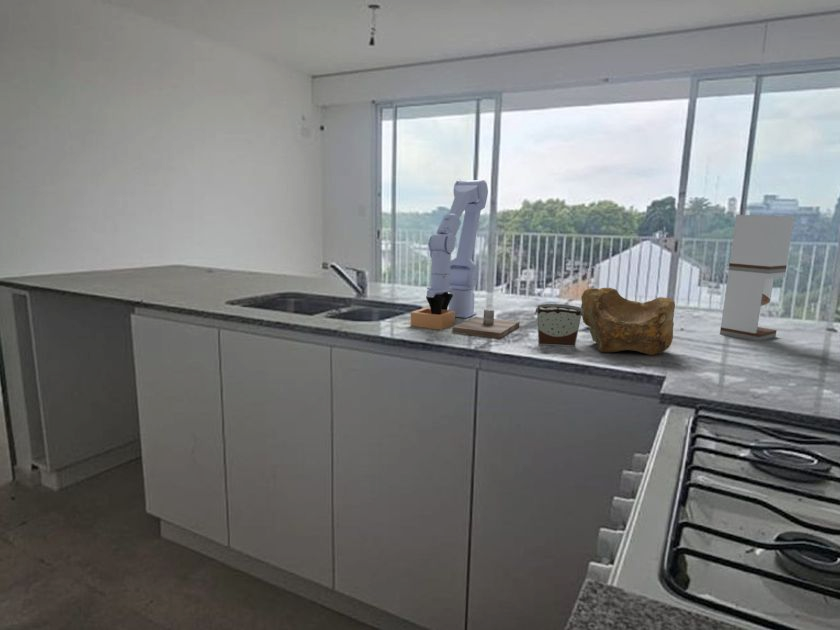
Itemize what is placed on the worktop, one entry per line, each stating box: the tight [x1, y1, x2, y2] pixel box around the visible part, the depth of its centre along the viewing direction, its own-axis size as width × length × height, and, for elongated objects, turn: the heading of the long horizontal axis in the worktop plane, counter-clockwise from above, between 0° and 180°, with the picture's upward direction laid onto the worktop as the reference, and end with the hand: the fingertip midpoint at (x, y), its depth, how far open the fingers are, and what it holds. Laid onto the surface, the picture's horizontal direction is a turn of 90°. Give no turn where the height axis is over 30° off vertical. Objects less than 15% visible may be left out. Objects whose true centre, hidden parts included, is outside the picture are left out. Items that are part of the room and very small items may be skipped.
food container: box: [534, 303, 584, 347], centre depth 141 cm, size 12×6×10 cm, turn 84°
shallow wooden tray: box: [410, 307, 456, 331], centre depth 160 cm, size 10×10×4 cm
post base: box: [452, 308, 521, 339], centre depth 156 cm, size 19×14×6 cm
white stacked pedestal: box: [719, 214, 795, 342], centre depth 156 cm, size 11×11×35 cm
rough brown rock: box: [580, 287, 676, 356], centre depth 135 cm, size 23×17×15 cm
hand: (438, 317), depth 164 cm, fingers open, 4 cm apart
